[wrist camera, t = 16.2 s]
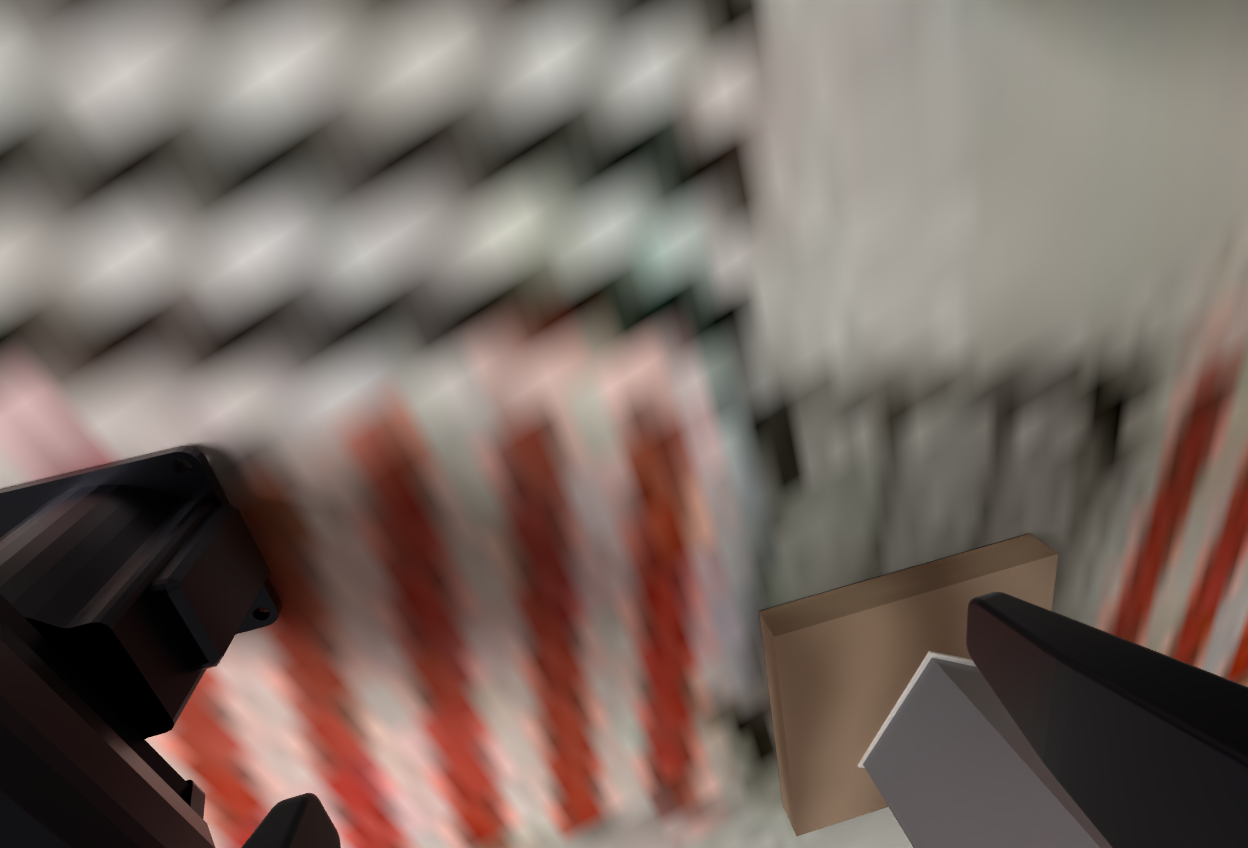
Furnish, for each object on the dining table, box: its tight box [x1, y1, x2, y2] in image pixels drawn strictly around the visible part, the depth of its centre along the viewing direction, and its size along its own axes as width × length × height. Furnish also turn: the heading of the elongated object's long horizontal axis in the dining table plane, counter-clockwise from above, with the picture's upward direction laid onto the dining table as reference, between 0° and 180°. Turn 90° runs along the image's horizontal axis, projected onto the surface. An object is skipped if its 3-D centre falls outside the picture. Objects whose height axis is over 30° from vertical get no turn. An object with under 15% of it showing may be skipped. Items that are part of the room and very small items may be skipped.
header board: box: [759, 534, 1059, 836], centre depth 26 cm, size 12×12×4 cm
